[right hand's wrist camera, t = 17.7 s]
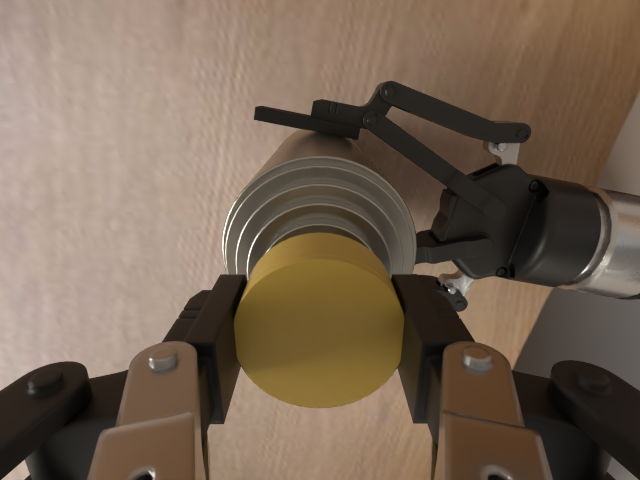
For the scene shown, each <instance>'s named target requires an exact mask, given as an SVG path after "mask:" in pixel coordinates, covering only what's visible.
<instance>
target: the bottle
mask: <svg viewBox="0 0 640 480" xmlns="http://www.w3.org/2000/svg"><path fill="white" fill-rule="evenodd" d="M308 233H332V234H337V235H341V236H344V237H348V238H350V239H352V240H355V241H357V242H359V243H360V244H362V245H364V246H365V247H367V248H368V249H369V250H370V251H371V252H373V253H374V254H375V255H376V256H377V257H378V259H379V260H380V261H381V262H382V264H383V265H384V267H385V268H386V270H387V272H388V274H389V276H390V279H391V277H392V275H393V274H412V272H413V269H414V265H415V261H416V252H417V241H416V232H415V227H414V222H413V220H412V217H411V214H410V211H409V209H408V208H407V206H406V204H405V202H404V200H403V199H402V197H401V196H400V195H399V193H398V192H397V190H396V189H395V188H394V187H393V186H392V185H391V183H390V182H389V181H388V180H387V179H386V178H385V176H384V175H383V174H382V173H381V172H380V171H379V169H378V168H377V167H376V166H375V165H374V164H373V163H372V161H371V160H370V159H369V158H368V157H367V156H366V154H365V153H364V152H363V151H362V150H361V149H360V147H359V146H358V145H357V144H356V143H355V142H354V141H353V140H352V139H351V138H346V137H340V136H335V135H331V134H325V133H320V132H315V131H310V130H305V129H302V130H299V131H297V132H296V133H294V134H292V135H291V136H290V137H289V138H287V139H286V141H285V142H284V143H283V144H282V145H281V146H280V147H279V148H278V150H277V151H276V152H275V153H274V154H273V155H272V157H271V158H270V159H269V160H268V161H267V162H266V164H265V165H264V166H263V167H262V168H261V169H260V171H259V172H258V173H257V174H256V175H255V176H254V178H253V179H252V180H251V181H250V182H249V183H248V185H247V186H246V187H245V188H244V189H243V190H242V192H241V193H240V195H239V196H238V197H237V199H236V200H235V202H234V204H233V206H232V208H231V210H230V212H229V214H228V217H227V220H226V223H225V227H224V232H223V241H222V252H223V261H224V265H225V269H226V273H227V274H245V275H246V277H247V282H248V279H249V277H250V275H251V273H252V270H253V268H254V267H255V265H256V264H257V262H258V261H259V260H260V259H261V258H262V257H263V255H264V254H265V253H267V252H268V251H269V250H270V249H271V248H273V247H274V246H276V245H277V244H279V243H280V242H282V241H285V240H287V239H289V238H292V237H295V236H298V235H302V234H308Z"/></svg>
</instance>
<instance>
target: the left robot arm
mask: <svg viewBox="0 0 640 480" xmlns="http://www.w3.org/2000/svg"><path fill="white" fill-rule="evenodd" d="M391 106H393V107H396V108H398V109H401V110H403V111H406V112H408V113H411V114H413V115H416V116H418V117H421V118H423V119H426V120H428V121H431V122H433V123H436V124H438V125H441V126H443V127H446V128H448V129H451V130H453V131H456V132H458V133H461V134H463V135H466V136H469V137H472V138H476V139H479V140H483V148H484V150H485V151H487V152H489V153H492V154H494V156H495V157H496V163H493V164H491V165H489V166H486V167H484V168H482V169H480V170H477V171H475V172H473V173H471V174H468V175H464V174H463V173H462V172H460V171H459V170H457V169H456V168H454V167H453V166H451V165H450V164H449V163H447V162H446V161H445V160H443V159H442V158H441V157H439V156H438V155H437V154H435V153H434V152H432V151H431V150H430V149H428V148H427V147H426V146H424V145H423V144H422V143H420V142H419V141H418V140H416V139H415V138H413V137H412V136H411V135H409V134H408V133H407V132H405V131H404V130H403V129H401V128H400V127H399V126H397V125H396V124H394V123H393V122H392V121H390V120H389V119H388V118H386V117H385V116H386V114H387V112H388V111H389V109H390V108H391ZM254 120H258V121H264V122H269V123H274V124H279V125H284V126H289V127H294V128H299V129H305V130H310V131H315V132H320V133H325V134H331V135H335V136H340V137H346V138H351V139H356V140H358V136H359V131H360V128H364V129H368V130H369V131H371V132H372V133H373V134H375V135H376V136H377V137H379V138H380V139H382V140H383V141H384V142H386V143H387V144H389V145H390V146H391V147H393V148H394V149H396V150H397V151H398V152H400V153H401V154H402V155H404V156H405V157H407V158H408V159H409V160H411V161H412V162H414V163H415V164H416V165H418V166H419V167H420V168H422V169H423V170H425V171H426V172H427V173H429V174H430V175H432V176H433V177H434V178H436V179H437V180H438V181H440V182H441V183H443V184H444V185H445V186H447V188H446V189H443V191H442V194H441V198H440V210H439V212H438V213H437V215H436V217H435V218H434V220H433V224H432V227H431V229H429V230H425V231H420V232H418V233H417V234H416V241H417V252H416V261H415V264H419V263H424V262H427V263H431V264H434V263H440V262H445V261H450V260H451V261H452V262H453V263H454V264H455V265H456V266H457V267H458V268H459V270H458V271H457V272H456V273H454V274H440V276H439V278H437V277H434V276H429V275H418V276H419V278H420V280H421V282H422V284H423V285H424V287H425V289H426V290H436V291H437V292H439V293H440V294H442V295H443V296H445V297H446V298H448V300H449V301H450V303H451V305H452V306H453V308H454V310H455V311H457V312H460V311H463V310H465V309H466V307H467V305H468V302H467V300H466V299H465V297H464V296H465V294H466V293H467V291H468V289H469V288H470V286H471V284H472V282H473V281H474V279H481V278H485V277H489V276H497V277H501V278H505V279H509V280H515V281H521V282H526V283H532V284H538V285H543V286H549V287H559V288H562V289H564V290H571V291H577V292H583V293H589V294H596V295H602V296H608V297H614V298H618V299H625V300H631V301H636V302H640V196H637V195H632V194H627V193H622V192H617V191H612V190H607V189H602V188H597V187H591V186H585V187H584V186H582V185H580V184H577V183H572V182H567V181H562V180H557V179H551V178H546V177H541V176H536V175H531V174H527V173H526V172H524V171H523V170H522V169H521V168H520V167H519V166H517V160H518V154H519V149H520V143H523V142H525V141H527V140H528V138H529V137H530V134H531V129H530V127H529V126H528V125H527V124H524V123H516V122H509V121H489V120H487V119H484V118H482V117H480V116H477V115H475V114H472V113H470V112H467V111H465V110H462V109H460V108H458V107H455V106H453V105H450V104H448V103H445V102H443V101H441V100H438V99H436V98H433V97H431V96H428V95H426V94H423V93H421V92H419V91H416V90H414V89H411V88H409V87H406V86H404V85H401V84H399V83H397V82H394V81H387V82H383V83H380V84H379V85H378V86H377V88H376V90H375V92H374V94H373V95H372V97H371V99H370V100H369V102H368V103H367V104H365V105H363V106H360V107H359V106H353V105H348V104H343V103H338V102H333V101H328V100H323V99H321V100H316V101H313V106H312V112H311V116H310V115H305V114H300V113H295V112H290V111H285V110H280V109H275V108H270V107H265V106H258V107H255V115H254Z"/></svg>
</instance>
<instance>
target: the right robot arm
mask: <svg viewBox="0 0 640 480" xmlns="http://www.w3.org/2000/svg"><path fill="white" fill-rule="evenodd" d="M391 281H392V284H393V286H394V289H395V291H396V294H397V296H398V299H399V301H400V304H401V307H402V309H403V312H404V328H403V339H402V351H401V361H400V363H399V365H398V367H397V368H398V371H399V375H400V378H401V382H402V385H403V389H404V392H405V396H406V399H407V403H408V406H409V410H410V413H411V417H412V420H413V423H428V427H429V430H430V433H431V435H432V443H431V456H430V477H429V480H615V479H614V478H613V477H612V476H611V475H610V474H609V473H608V472H607V469H608V466H609V463H610V460H611V458H612V457H613V458H614V459H616V460H617V461H618V462H619V463H620V464H621V465H623V466H624V467H625V468H626V469H627V470H628V471H629V472H631V473H632V474H633V475H634V476H635V477H636V478H638V479H639V480H640V391H639V390H637V389H636V388H634V387H633V386H631V385H630V384H628V383H627V382H625V381H624V380H622V379H621V378H619V377H618V376H616V375H615V374H613V373H611V372H609V371H607V370H605V369H603V368H601V367H599V366H596V365H593V364H590V363H586V362H581V361H573V360H568V361H561V362H558V363H556V364H555V365H554V366H553V367H552V370H551V374H550V378H544V377H539V376H534V375H530V374H525V373H520V372H516V371H513V370H511V366H510V363H509V361H508V360H507V358H506V357H505V356H504V355H502V354H501V353H500V352H499V351H497V350H495V349H494V348H492V347H489V346H487V345H484V344H481V343H477V342H475V341H474V339H473V338H472V336H471V334H470V333H469V331H468V330H467V328H466V327H465V325H464V323H463V322H462V320H461V319H459V316H458V314H457V312H456V311H455V310H454V308H453V306H452V305H451V303H450V301H449V300H448V298H446V297H445V296H443V295H442V294H440V293H439V292H437V291H436V290H426V289H425V287H424V285H423V284H422V282H421V280H420V278H419V276H418V275H417V274H393V275H392V277H391ZM246 284H247V277H246V275H245V274H221V275H220V276H219V278H218V280H217V282H216V283H215V285H214V287H213V289H212V290H202V291H201V292H199V293H198V294H196V295H195V296H193V297H192V298H190V300H189V301H188V303H187V304H186V306H185V307H184V311H182V312H181V314H180V315H179V318H178V319H177V320H176V321H175V323H174V324H173V326H172V328H171V329H170V331H169V332H168V334H167V335H166V337H165V338H164V340H163V341H162V343H159V344H156V345H153V346H151V347H148V348H146V349H145V350H143V351H141V352H140V353H139V354H137V355H136V356H135V357H134V358H133V360H132V361H131V363H130V366H129V370H126V371H123V372H119V373H115V374H110V375H105V376H100V377H95V378H91V379H89V377H88V373H87V369H86V367H85V366H84V365H82V364H81V363H78V362H58V363H53V364H49V365H46V366H43V367H40V368H38V369H35V370H33V371H31V372H29V373H27V374H26V375H24V376H22V377H21V378H19V379H18V380H16V381H15V382H13V383H12V384H10V385H9V386H7V387H6V388H4V389H3V390H1V391H0V480H1V479H2V478H4V477H5V476H6V475H7V474H8V473H9V472H11V471H12V470H13V469H14V468H15V467H16V466H17V465H19V464H20V463H21V462H22V461H23V460H24V459H25V461H26V464H27V467H28V470H29V473H30V475H29V476H28V477H27V478H26V479H25V480H211V477H210V456H209V443H208V435H207V430H208V427H209V424H224V422H225V418H226V415H227V412H228V408H229V405H230V401H231V398H232V395H233V391H234V388H235V384H236V381H237V378H238V374H239V371H240V367H241V365H240V363H239V361H238V359H237V354H236V343H235V331H234V316H235V313H236V310H237V307H238V305H239V302H240V300H241V297H242V295H243V292H244V289H245V287H246Z"/></svg>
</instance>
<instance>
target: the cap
mask: <svg viewBox="0 0 640 480" xmlns="http://www.w3.org/2000/svg"><path fill="white" fill-rule="evenodd" d="M403 328H404V312H403V309H402V307H401V304H400V301H399V299H398V296H397V294H396V291H395V289H394V286H393V284H392V281H391V279H390V276H389V274H388V272H387V270H386V268H385V267H384V265H383V264H382V262H381V261H380V260H379V259H378V257H377V256H376V255H375V254H374V253H373V252H371V251H370V250H369V249H368V248H367V247H365V246H364V245H362V244H360V243H359V242H357V241H355V240H352V239H350V238H348V237H344V236H341V235H337V234H332V233H308V234H302V235H298V236H295V237H292V238H289V239H287V240H285V241H282V242H280V243H279V244H277V245H276V246H274V247H273V248H271V249H270V250H269V251H268V252H267V253H265V254H264V255H263V257H262V258H261V259H260V260H259V261H258V262H257V264H256V265H255V267H254V268H253V270H252V273H251V275H250V277H249V279H248V282H247V284H246V287H245V289H244V292H243V295H242V297H241V300H240V302H239V305H238V307H237V310H236V313H235V316H234V331H235V343H236V354H237V359H238V361H239V363H240V365H241V367H242V368H243V370H244V371H245V373H246V374H247V376H248V377H249V378H250V379H251V380H252V381H253V382H254V383H255V384H256V385H257V386H258V387H259V388H261V389H262V390H263V391H265V392H266V393H268V394H269V395H271V396H273V397H275V398H277V399H279V400H281V401H284V402H287V403H290V404H293V405H297V406H302V407H309V408H330V407H337V406H342V405H346V404H350V403H353V402H355V401H358V400H360V399H362V398H364V397H366V396H368V395H370V394H371V393H373V392H374V391H376V390H377V389H379V388H380V387H381V386H382V385H383V384H384V383H385V382H386V381H387V380H388V379H389V378H390V377H391V376H392V375H393V373H394V372H395V370H396V369H397V367H398V365H399V363H400V361H401V351H402V339H403Z"/></svg>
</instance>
